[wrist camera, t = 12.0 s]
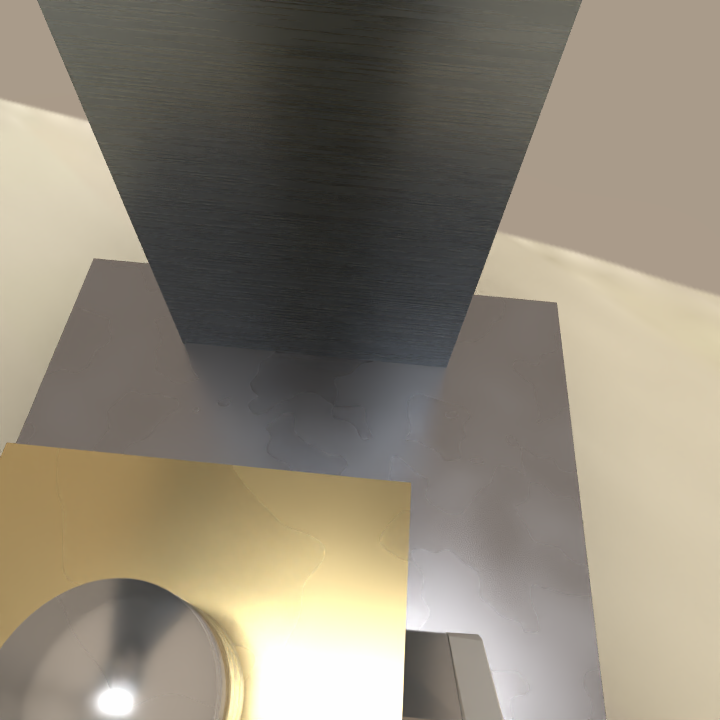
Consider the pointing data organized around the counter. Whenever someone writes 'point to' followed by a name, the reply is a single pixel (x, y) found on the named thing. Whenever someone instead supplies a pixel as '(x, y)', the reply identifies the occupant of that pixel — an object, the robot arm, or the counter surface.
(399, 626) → the block
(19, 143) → the counter surface
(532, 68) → the press
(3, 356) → the counter surface
